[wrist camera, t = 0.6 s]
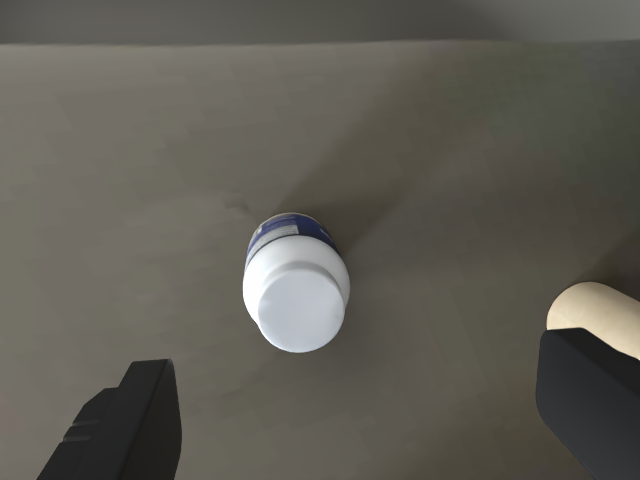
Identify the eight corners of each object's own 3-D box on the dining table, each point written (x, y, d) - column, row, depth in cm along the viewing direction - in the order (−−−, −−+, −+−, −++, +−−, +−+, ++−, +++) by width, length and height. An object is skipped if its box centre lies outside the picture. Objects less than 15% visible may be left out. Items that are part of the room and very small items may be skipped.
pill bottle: (347, 268, 31) (380, 335, 22) (273, 306, 31) (275, 387, 22) (309, 195, 30) (328, 233, 20) (232, 234, 30) (216, 290, 21)
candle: (597, 361, 35) (721, 455, 25) (532, 341, 34) (636, 431, 24) (632, 293, 34) (777, 365, 24) (567, 270, 33) (690, 336, 23)
